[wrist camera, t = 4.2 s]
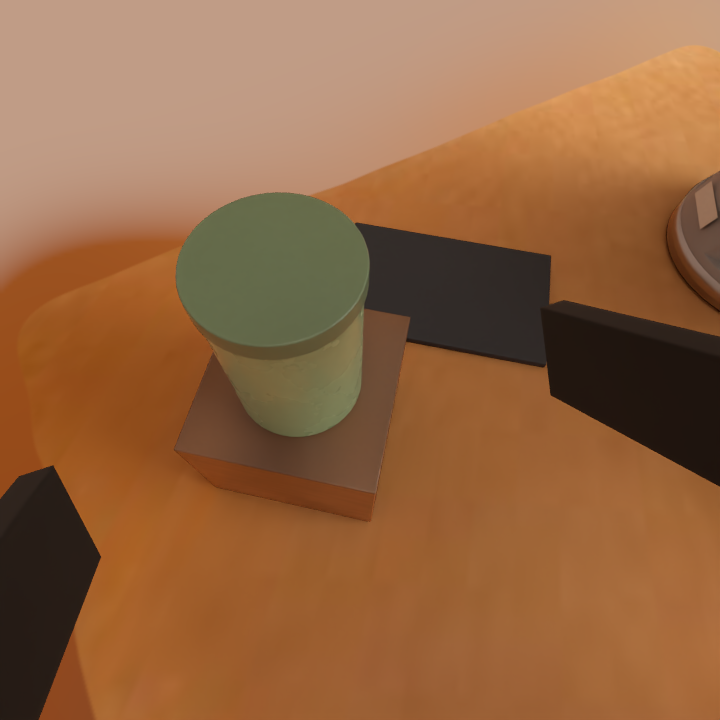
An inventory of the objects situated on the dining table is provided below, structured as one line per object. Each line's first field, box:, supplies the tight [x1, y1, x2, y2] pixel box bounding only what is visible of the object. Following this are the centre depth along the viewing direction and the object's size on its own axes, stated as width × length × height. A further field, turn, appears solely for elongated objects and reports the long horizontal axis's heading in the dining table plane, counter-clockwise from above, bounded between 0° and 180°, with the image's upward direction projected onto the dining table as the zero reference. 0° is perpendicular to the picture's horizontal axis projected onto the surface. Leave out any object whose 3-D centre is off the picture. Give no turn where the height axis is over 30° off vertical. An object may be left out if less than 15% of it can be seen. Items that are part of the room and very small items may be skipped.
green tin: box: [176, 193, 370, 437], centre depth 21 cm, size 7×7×10 cm
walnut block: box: [174, 309, 410, 522], centre depth 29 cm, size 10×10×8 cm
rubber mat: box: [355, 223, 551, 367], centre depth 37 cm, size 16×10×1 cm, turn 78°
